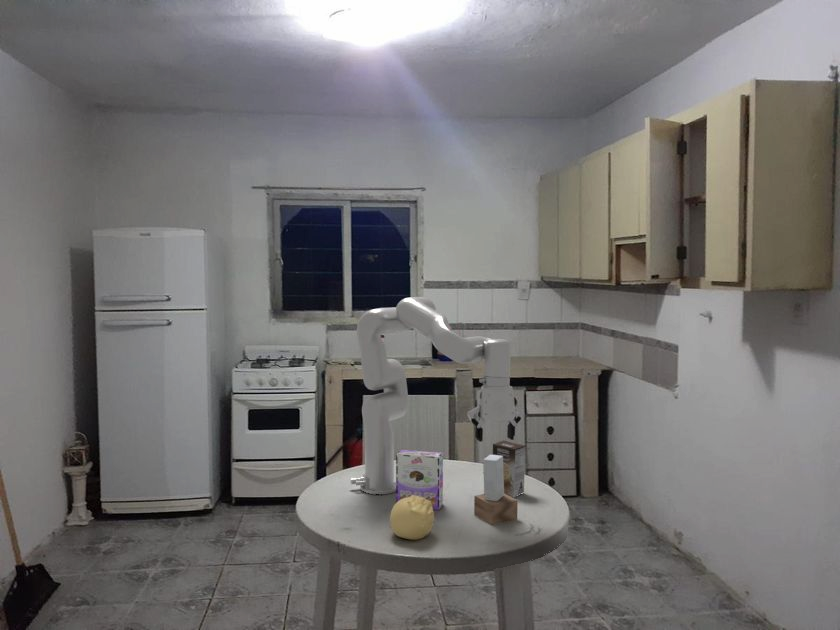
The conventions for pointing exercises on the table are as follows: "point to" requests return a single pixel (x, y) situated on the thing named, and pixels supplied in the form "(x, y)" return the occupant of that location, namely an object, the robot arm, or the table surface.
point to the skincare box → (493, 477)
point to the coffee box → (512, 466)
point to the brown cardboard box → (495, 509)
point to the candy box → (420, 476)
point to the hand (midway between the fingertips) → (495, 439)
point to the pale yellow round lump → (412, 517)
